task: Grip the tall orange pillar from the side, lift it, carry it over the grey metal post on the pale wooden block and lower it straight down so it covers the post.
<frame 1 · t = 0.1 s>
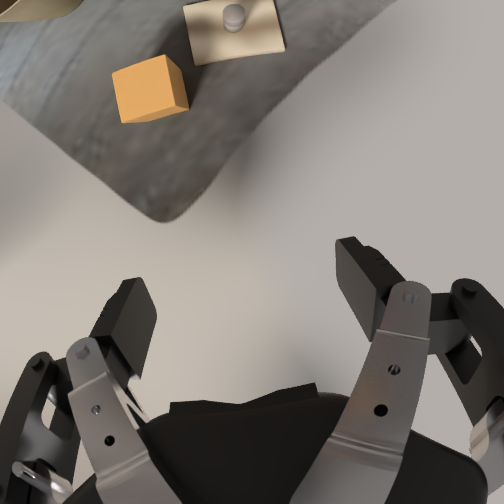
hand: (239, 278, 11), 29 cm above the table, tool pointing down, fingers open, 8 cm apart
tall orange pillar: (164, 95, 32), on the table
post block: (233, 27, 28), on the table
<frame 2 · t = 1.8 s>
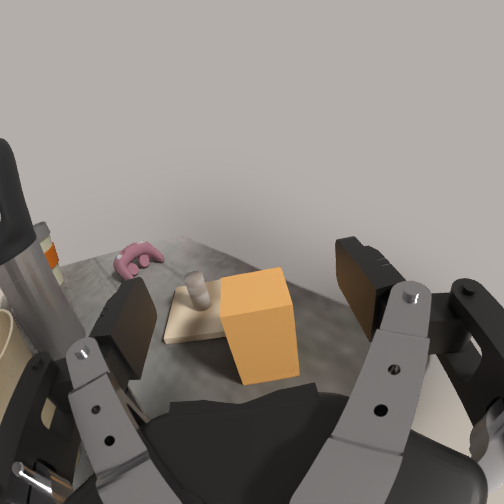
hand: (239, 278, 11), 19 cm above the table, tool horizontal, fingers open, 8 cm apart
video game controller: (142, 272, 54), on the table
tall orange pillar: (268, 360, 30), on the table
plant pot: (59, 453, 19), on the table
reusable coffee cup: (50, 287, 55), on the table
post block: (204, 310, 40), on the table
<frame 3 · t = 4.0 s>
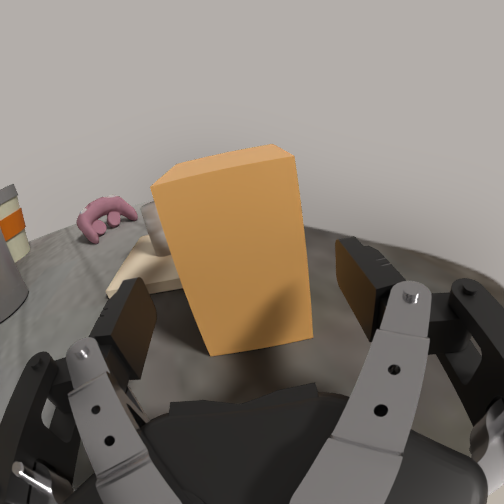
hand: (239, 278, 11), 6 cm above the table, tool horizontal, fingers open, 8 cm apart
video game controller: (111, 232, 42), on the table
tall orange pillar: (256, 315, 18), on the table
reusable coffee cup: (15, 259, 44), on the table
post block: (170, 259, 28), on the table
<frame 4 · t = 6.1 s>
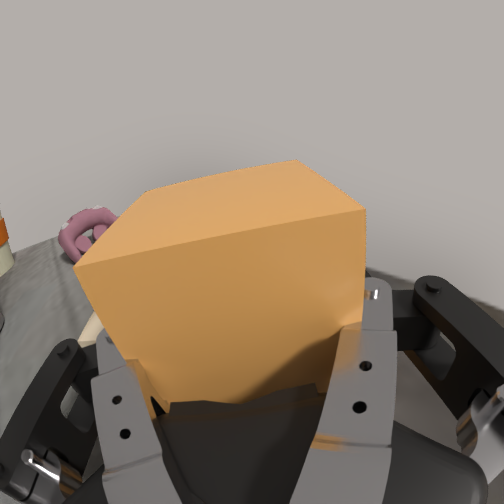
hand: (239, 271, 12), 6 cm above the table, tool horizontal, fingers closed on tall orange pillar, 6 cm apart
video game controller: (97, 249, 36), on the table
tall orange pillar: (266, 399, 12), on the table, touching gripper
post block: (156, 296, 22), on the table
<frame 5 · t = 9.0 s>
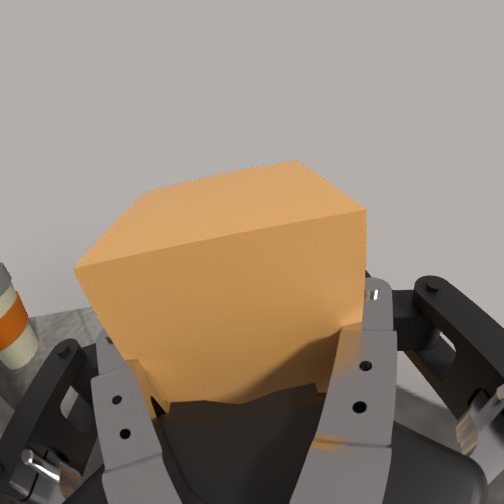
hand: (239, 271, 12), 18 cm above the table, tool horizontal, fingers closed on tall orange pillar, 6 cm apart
tall orange pillar: (267, 399, 12), point 12 cm above the table, touching gripper
reusable coffee cup: (22, 353, 34), on the table
when the fingers open (8 cm above the table, at t = 12.1 s): tall orange pillar stays where it is, resting on post block.
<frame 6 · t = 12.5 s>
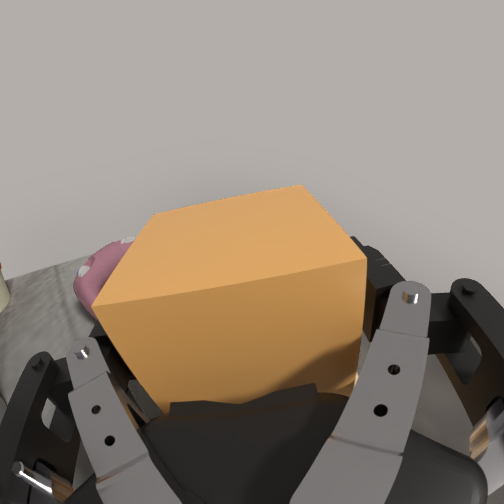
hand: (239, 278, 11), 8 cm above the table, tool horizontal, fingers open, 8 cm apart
video game controller: (132, 300, 26), on the table
tall orange pillar: (270, 409, 13), point 1 cm above the table, touching post block
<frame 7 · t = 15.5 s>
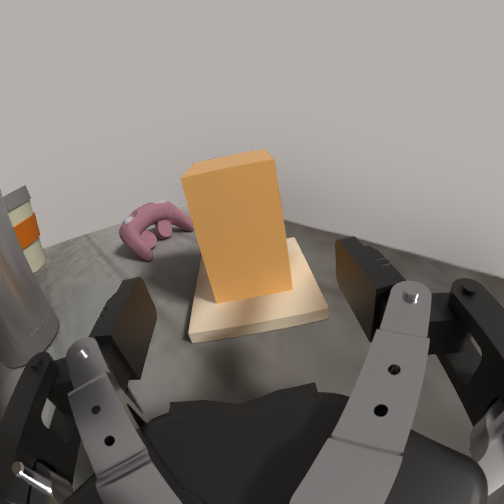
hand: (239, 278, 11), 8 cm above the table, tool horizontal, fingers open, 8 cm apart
video game controller: (162, 245, 37), on the table
tall orange pillar: (252, 276, 24), point 1 cm above the table, touching post block
reusable coffee cup: (28, 270, 41), on the table
post block: (253, 285, 25), on the table
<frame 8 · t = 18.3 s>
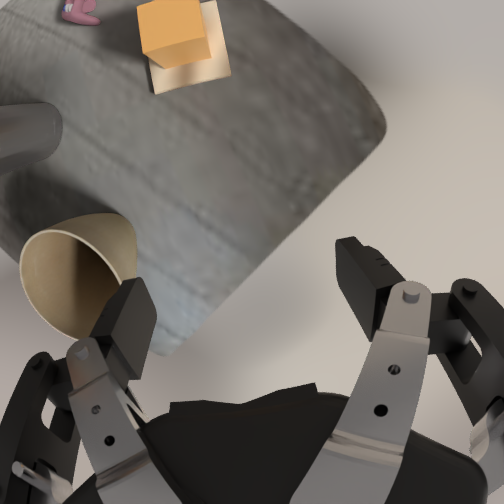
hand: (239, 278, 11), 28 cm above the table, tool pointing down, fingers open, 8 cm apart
video game controller: (99, 0, 22), on the table
tall orange pillar: (184, 43, 27), point 1 cm above the table, touching post block
plant pot: (115, 233, 39), on the table
post block: (185, 45, 28), on the table
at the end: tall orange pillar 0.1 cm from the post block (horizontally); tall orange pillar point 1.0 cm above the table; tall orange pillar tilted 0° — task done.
